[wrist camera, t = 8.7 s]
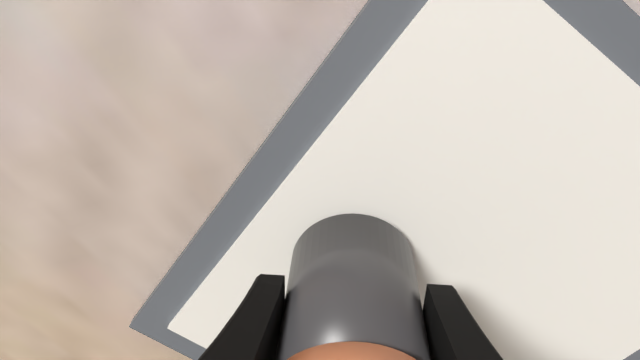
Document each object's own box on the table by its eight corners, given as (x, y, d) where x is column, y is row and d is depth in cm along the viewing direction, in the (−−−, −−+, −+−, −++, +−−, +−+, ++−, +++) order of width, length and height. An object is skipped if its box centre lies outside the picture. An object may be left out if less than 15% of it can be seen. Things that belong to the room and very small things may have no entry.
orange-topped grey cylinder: (443, 246, 13) (502, 469, 8) (372, 327, 15) (384, 555, 10) (327, 188, 13) (311, 392, 7) (266, 280, 14) (219, 499, 9)
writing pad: (853, 222, 13) (874, 234, 13) (442, 477, 20) (445, 492, 20) (470, -137, 10) (476, -140, 9) (133, 317, 17) (126, 331, 16)
